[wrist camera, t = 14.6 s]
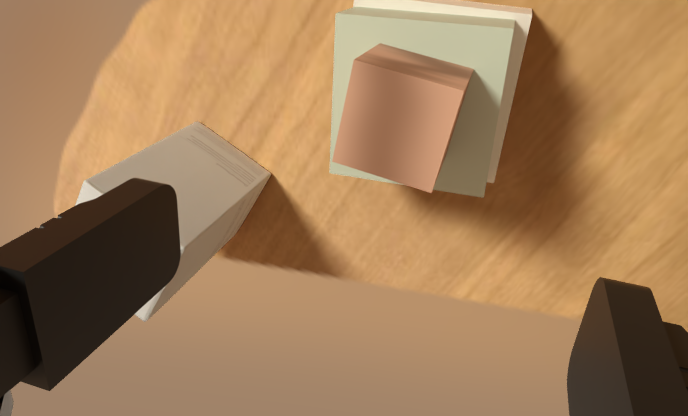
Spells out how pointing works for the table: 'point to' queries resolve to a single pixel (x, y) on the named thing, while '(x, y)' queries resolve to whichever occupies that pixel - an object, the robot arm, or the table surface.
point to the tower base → (451, 3)
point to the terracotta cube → (400, 115)
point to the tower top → (444, 44)
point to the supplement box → (191, 194)
